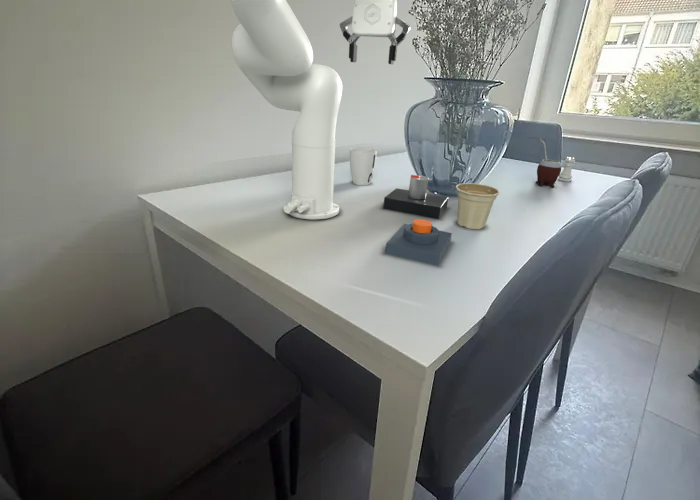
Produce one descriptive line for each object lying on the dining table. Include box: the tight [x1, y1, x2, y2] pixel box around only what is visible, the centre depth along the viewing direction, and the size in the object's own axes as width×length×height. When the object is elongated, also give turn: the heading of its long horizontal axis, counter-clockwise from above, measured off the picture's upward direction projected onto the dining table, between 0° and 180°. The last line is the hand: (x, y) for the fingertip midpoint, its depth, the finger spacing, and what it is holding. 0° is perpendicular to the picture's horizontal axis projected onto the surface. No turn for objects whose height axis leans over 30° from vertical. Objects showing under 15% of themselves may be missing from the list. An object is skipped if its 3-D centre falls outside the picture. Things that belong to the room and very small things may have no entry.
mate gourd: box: [535, 137, 562, 188], centre depth 127 cm, size 8×8×15 cm
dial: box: [408, 174, 430, 200], centre depth 97 cm, size 4×4×5 cm
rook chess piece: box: [557, 156, 576, 183], centre depth 136 cm, size 4×4×8 cm
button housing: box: [384, 222, 453, 267], centre depth 75 cm, size 12×10×4 cm
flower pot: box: [455, 182, 501, 230], centre depth 88 cm, size 9×9×9 cm
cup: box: [349, 146, 378, 186], centre depth 117 cm, size 8×8×10 cm
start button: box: [412, 218, 433, 233], centre depth 74 cm, size 4×4×2 cm
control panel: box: [383, 187, 449, 220], centre depth 98 cm, size 14×10×3 cm
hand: (371, 63), depth 97 cm, fingers open, 9 cm apart
